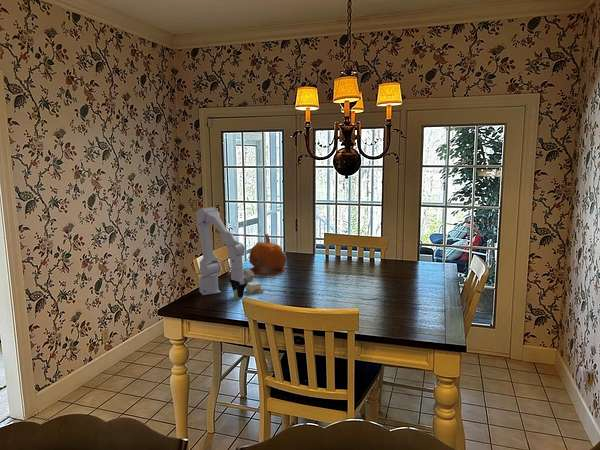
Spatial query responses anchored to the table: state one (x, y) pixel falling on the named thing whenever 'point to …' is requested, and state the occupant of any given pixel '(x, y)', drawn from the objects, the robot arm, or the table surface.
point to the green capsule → (236, 295)
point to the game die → (248, 276)
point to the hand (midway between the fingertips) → (238, 294)
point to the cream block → (254, 285)
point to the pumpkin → (267, 258)
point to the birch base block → (254, 290)
